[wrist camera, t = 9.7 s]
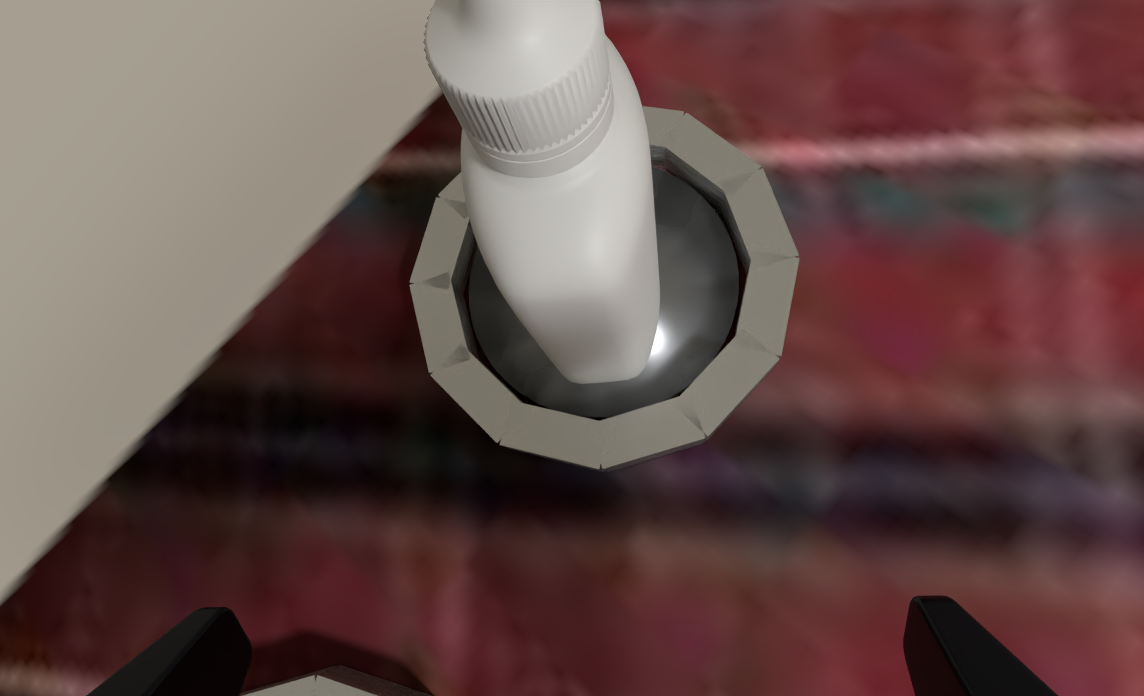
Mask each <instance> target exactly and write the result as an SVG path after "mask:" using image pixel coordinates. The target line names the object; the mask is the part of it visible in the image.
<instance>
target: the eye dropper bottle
mask: <svg viewBox="0 0 1144 696" xmlns="http://www.w3.org/2000/svg"><path fill="white" fill-rule="evenodd" d="M430 11H431V12H430V14H429V16H428V18H427V19H428V21H427V23H426V25H425V27H426V30H425V33H424V35H425V39H424V44H425V49H424V50H425V52H426V59H427V61H428V63H429V64H428V65H429V67H430V69H431V71H432V73H433V75H434V77H435V79H436V80H437V82H438V84H439V86H440V88H441V90H442V91H443V93H444V95H445V97H446V99H447V101H448V102H449V104H450V106H451V108H452V110H453V112H454V113H455V115H456V117H457V119H458V121H459V123H460V124H461V126H462V136H461V176H462V184H463V191H464V197H465V202H466V207H467V212H468V216H469V219H470V223H471V226H472V230H473V233H474V235H475V238H476V241H477V244H478V247H479V250H480V252H481V254H482V257H483V259H484V261H485V263H486V265H487V267H488V269H489V271H490V273H491V275H492V277H493V279H494V281H495V284H496V285H497V287H498V289H499V290H500V292H501V294H502V295H503V297H504V298H505V300H506V301H507V303H508V304H509V306H510V307H511V309H512V310H513V311H514V313H515V314H516V316H517V317H518V319H519V320H520V321H521V322H522V324H523V325H524V326H525V328H526V329H527V330H528V332H529V333H530V334H531V336H532V337H533V338H534V339H535V341H536V342H537V343H538V345H539V346H540V347H541V348H542V350H543V351H544V352H545V354H546V355H547V356H548V357H549V359H550V360H551V361H552V362H553V364H554V365H555V366H556V368H557V369H558V370H559V371H560V373H561V374H562V375H563V376H564V377H565V378H567V379H568V380H569V381H570V382H574V383H578V384H589V383H602V382H614V381H623V380H629V379H631V378H634V377H637V376H638V375H639V374H640V373H641V372H642V371H643V369H644V368H645V366H646V364H647V362H648V359H649V357H650V353H651V350H652V347H653V343H654V339H655V336H656V330H657V325H658V318H659V307H660V282H659V267H658V253H657V238H656V224H655V210H654V195H653V181H652V168H651V155H650V146H649V139H648V131H647V125H646V121H645V116H644V112H643V108H642V105H641V101H640V98H639V95H638V92H637V89H636V86H635V84H634V81H633V79H632V77H631V75H630V72H629V70H628V68H627V66H626V64H625V63H624V61H623V59H622V57H621V56H620V54H619V52H618V51H617V49H616V48H615V47H614V45H613V44H612V42H611V41H610V40H609V39H608V37H607V36H606V35H605V32H604V26H603V19H602V12H601V7H600V2H599V1H598V0H436V1H435V2H434V5H433V7H432V8H431V10H430Z"/></svg>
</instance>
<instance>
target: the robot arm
mask: <svg viewBox="0 0 1144 696" xmlns="http://www.w3.org/2000/svg"><path fill="white" fill-rule="evenodd" d="M903 648H904V655H905V659H906V663H907V667H908V671H909V674H910V678H911V682H912V685H913V689H914V693H915V696H1058V695H1057V694H1056V693H1055V692H1054V691H1052V690H1051V689H1050V688H1049V687H1048V686H1047V685H1046V684H1045V683H1044V682H1043V681H1042V680H1040V679H1039V678H1038V677H1037V676H1036V675H1035V674H1034V673H1033V672H1032V671H1031V670H1030V669H1029V668H1027V667H1026V666H1025V665H1024V664H1023V663H1022V662H1021V661H1020V660H1019V659H1018V658H1017V657H1015V656H1014V655H1013V654H1012V653H1011V652H1010V651H1009V650H1008V649H1007V648H1006V647H1005V646H1004V645H1002V644H1001V643H1000V642H999V641H998V640H997V639H996V638H995V637H994V636H993V635H992V634H990V633H989V632H988V631H987V630H986V629H985V628H984V627H983V626H982V625H981V624H980V623H979V622H977V621H976V620H975V619H974V618H973V617H972V616H971V615H970V614H969V613H968V612H967V611H965V610H964V609H963V608H962V607H961V606H960V605H959V604H958V603H957V602H956V601H954V600H953V599H951V598H949V597H947V596H915V597H914V598H913V599H912V600H911V602H910V605H909V610H908V616H907V621H906V627H905V632H904V638H903ZM251 658H252V646H251V643H250V641H249V639H248V637H247V635H246V634H245V632H244V630H243V628H242V627H241V625H240V623H239V621H238V619H237V618H236V616H235V614H234V613H233V611H232V610H230V609H229V608H226V607H206V608H201V609H198V610H196V611H194V612H193V613H191V614H190V615H189V616H187V617H186V618H185V619H184V620H182V621H181V622H180V623H178V624H177V625H176V626H175V627H173V628H172V629H171V630H169V631H168V632H167V633H166V634H164V635H163V636H162V637H161V638H159V639H158V640H157V641H155V642H154V643H153V644H152V645H150V646H149V647H148V648H146V649H145V650H144V651H143V652H141V653H140V654H139V655H138V656H136V657H135V658H134V659H132V660H131V661H130V662H129V663H127V664H126V665H125V666H123V667H122V668H121V669H120V670H118V671H117V672H116V673H115V674H113V675H112V676H111V677H109V678H108V679H107V680H106V681H104V682H103V683H102V684H101V685H99V686H98V687H97V688H95V689H94V690H93V691H92V692H90V693H89V694H88V695H86V696H240V693H241V690H242V687H243V684H244V681H245V678H246V675H247V672H248V669H249V666H250V663H251Z"/></svg>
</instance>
